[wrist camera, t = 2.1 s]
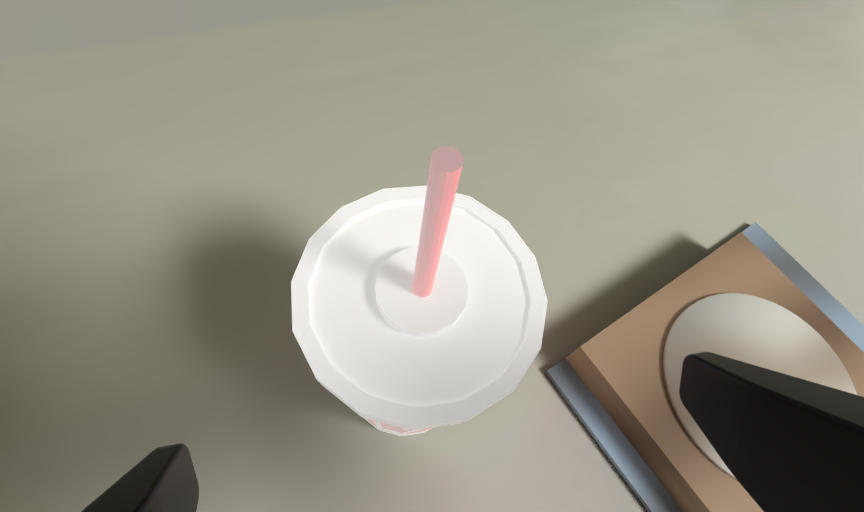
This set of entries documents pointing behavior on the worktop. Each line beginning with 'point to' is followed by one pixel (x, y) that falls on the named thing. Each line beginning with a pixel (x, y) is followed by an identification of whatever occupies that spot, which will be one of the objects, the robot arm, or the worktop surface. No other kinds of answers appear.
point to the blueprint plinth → (704, 332)
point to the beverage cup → (418, 304)
